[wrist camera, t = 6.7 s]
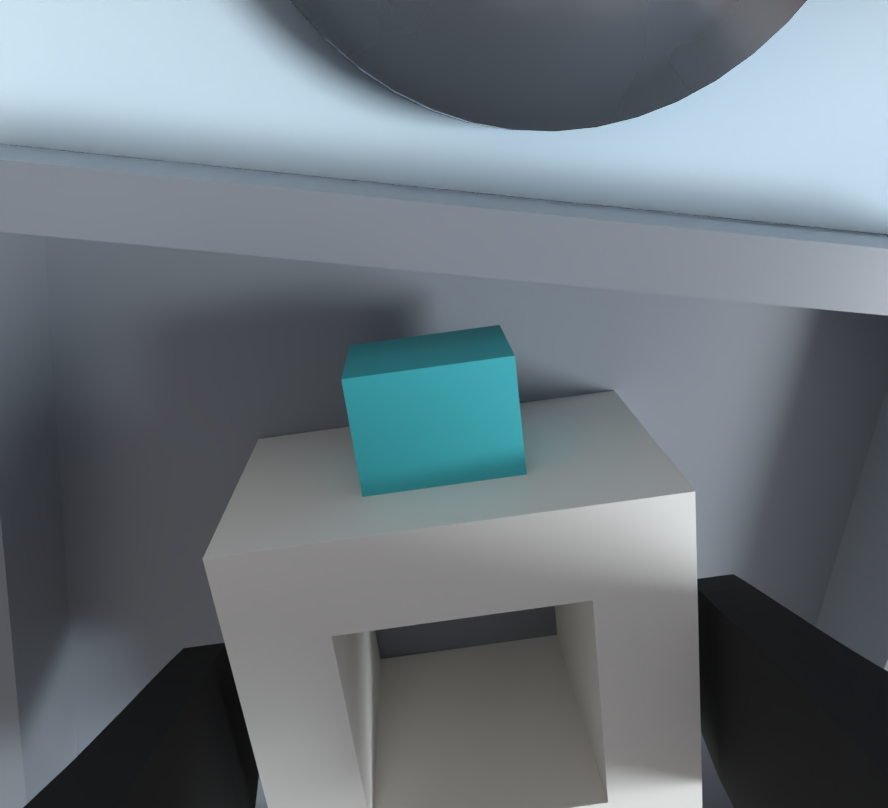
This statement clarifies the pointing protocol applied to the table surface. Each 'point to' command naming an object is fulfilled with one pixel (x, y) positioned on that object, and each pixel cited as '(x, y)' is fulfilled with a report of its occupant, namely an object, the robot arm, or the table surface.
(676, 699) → the collar
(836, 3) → the table surface
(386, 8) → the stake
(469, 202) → the tray
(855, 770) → the robot arm
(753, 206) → the table surface
